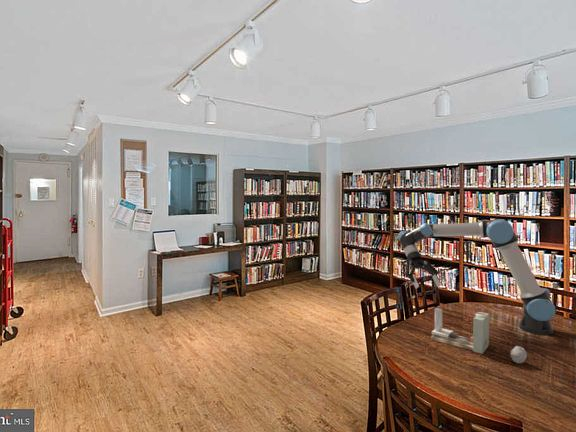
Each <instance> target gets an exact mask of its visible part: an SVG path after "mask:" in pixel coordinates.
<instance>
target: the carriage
mask: <svg viewBox="0 0 576 432" xmlns="http://www.w3.org/2000/svg"><path fill="white" fill-rule="evenodd" d="M431 334H436V335H439V336H443V337H447V338H448V337H453V338H456V337H458V336H459V335H458V334H459V333H458V332H455V331H454V330H452V329H451V330H450V329H446V328H443V309H442V308H439V307H435V308H434V329H433V330H431Z"/></svg>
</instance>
